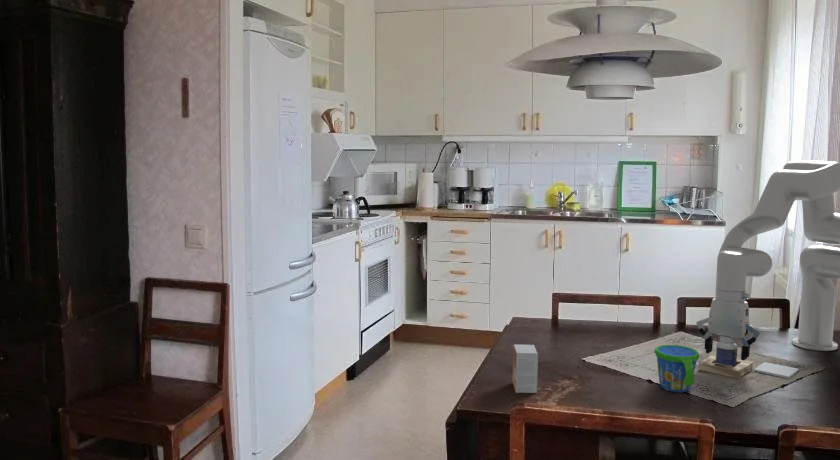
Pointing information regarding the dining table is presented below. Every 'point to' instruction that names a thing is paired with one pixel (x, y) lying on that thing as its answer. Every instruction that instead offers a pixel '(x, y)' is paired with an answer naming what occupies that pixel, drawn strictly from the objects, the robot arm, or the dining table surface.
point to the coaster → (776, 370)
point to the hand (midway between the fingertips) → (726, 355)
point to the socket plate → (725, 367)
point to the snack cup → (676, 367)
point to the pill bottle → (726, 351)
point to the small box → (525, 368)
